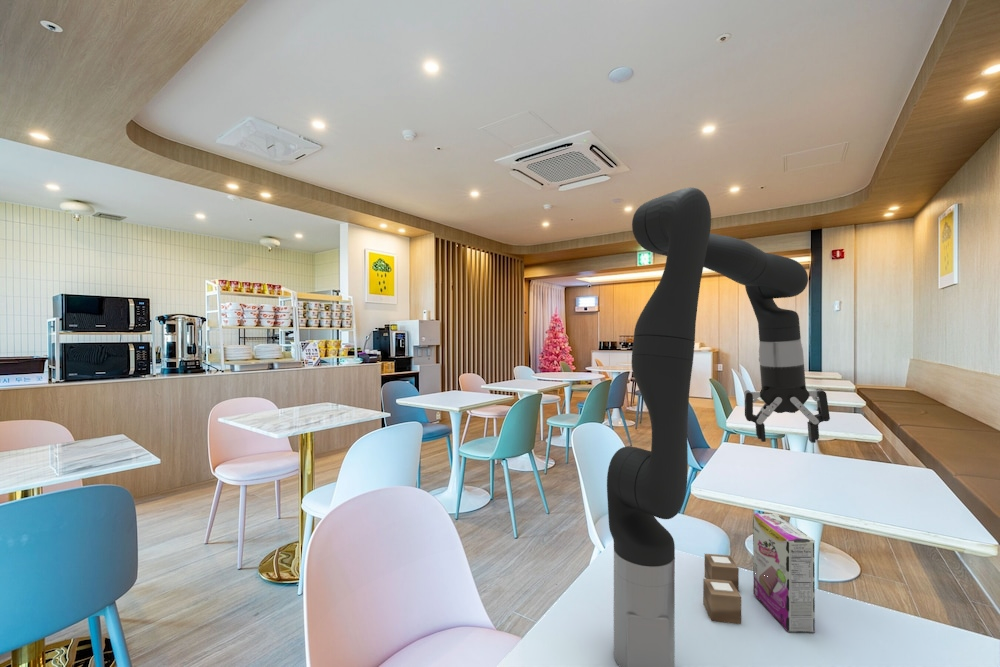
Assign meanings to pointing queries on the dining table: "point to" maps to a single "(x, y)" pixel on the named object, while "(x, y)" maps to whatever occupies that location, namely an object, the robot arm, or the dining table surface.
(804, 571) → the candy bar box
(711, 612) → the marked block near
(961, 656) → the dining table surface
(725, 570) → the marked block far
